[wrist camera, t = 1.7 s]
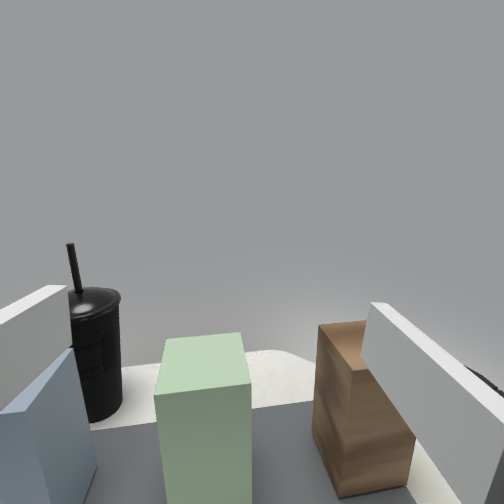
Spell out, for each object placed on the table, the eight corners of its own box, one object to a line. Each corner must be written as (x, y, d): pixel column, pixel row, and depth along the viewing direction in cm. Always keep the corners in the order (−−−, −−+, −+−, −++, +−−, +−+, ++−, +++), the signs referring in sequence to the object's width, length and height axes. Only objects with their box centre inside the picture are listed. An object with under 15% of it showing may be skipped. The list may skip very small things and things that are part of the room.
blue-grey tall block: (64, 552, 19) (25, 411, 16) (-36, 572, 18) (-100, 426, 15) (97, 464, 25) (73, 347, 21) (22, 476, 24) (-16, 356, 20)
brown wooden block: (406, 484, 23) (431, 361, 20) (338, 498, 22) (353, 370, 19) (366, 422, 29) (380, 318, 25) (311, 431, 28) (318, 324, 24)
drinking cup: (135, 376, 38) (114, 233, 33) (134, 420, 31) (108, 249, 26) (70, 392, 35) (36, 239, 30) (54, 444, 28) (6, 258, 23)
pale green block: (252, 515, 21) (251, 383, 18) (170, 531, 20) (153, 395, 17) (242, 442, 27) (240, 332, 23) (178, 452, 26) (166, 339, 22)
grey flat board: (421, 528, 22) (424, 515, 21) (-55, 636, 17) (-63, 621, 16) (346, 406, 33) (347, 395, 33) (51, 448, 28) (48, 437, 28)
